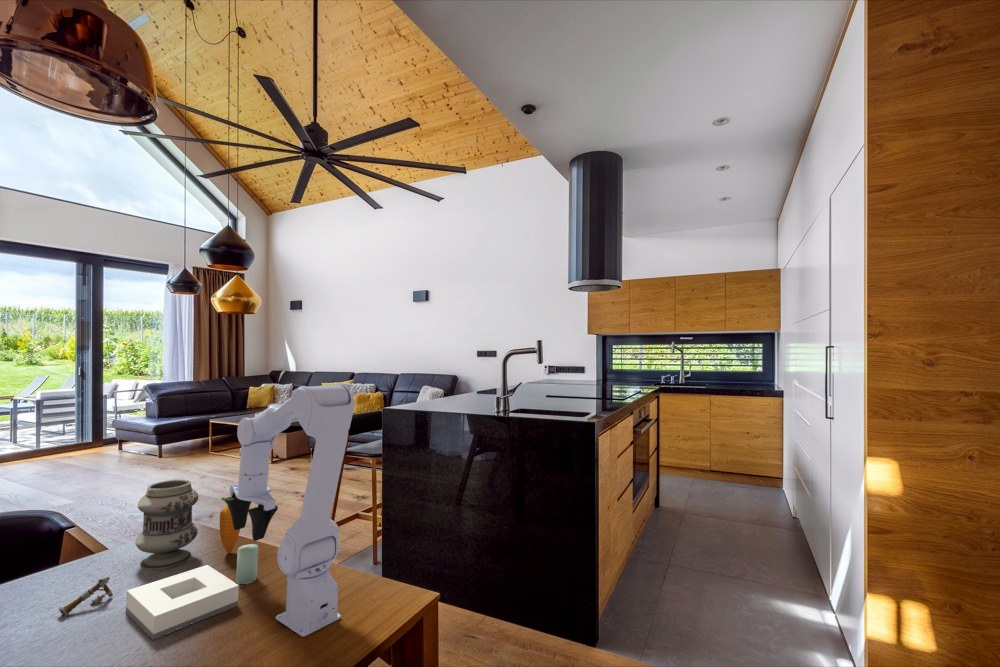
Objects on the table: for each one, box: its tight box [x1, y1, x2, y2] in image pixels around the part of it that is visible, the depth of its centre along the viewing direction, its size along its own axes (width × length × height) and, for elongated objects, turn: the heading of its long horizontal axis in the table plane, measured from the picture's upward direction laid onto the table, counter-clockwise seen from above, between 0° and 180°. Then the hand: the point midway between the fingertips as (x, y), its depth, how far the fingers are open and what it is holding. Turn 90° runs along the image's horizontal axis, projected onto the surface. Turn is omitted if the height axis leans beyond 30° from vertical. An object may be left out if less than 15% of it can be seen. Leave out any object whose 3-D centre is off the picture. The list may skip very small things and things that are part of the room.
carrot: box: [219, 494, 241, 554], centre depth 115 cm, size 5×5×15 cm
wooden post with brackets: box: [57, 576, 114, 618], centre depth 90 cm, size 2×8×4 cm, turn 155°
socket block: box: [125, 564, 240, 641], centre depth 90 cm, size 14×14×4 cm
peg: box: [235, 543, 259, 584], centre depth 102 cm, size 4×4×7 cm
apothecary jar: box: [135, 479, 199, 571], centre depth 111 cm, size 12×12×18 cm
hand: (248, 533), depth 102 cm, fingers open, 7 cm apart
